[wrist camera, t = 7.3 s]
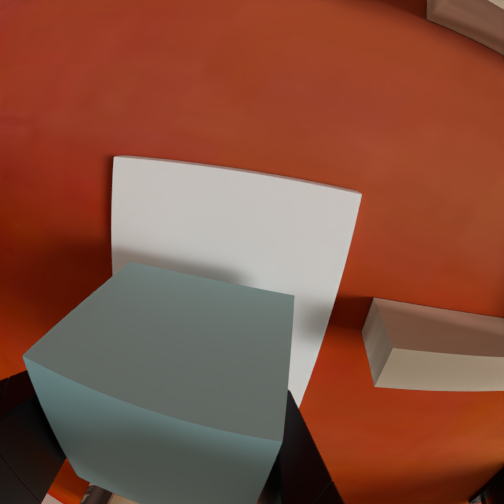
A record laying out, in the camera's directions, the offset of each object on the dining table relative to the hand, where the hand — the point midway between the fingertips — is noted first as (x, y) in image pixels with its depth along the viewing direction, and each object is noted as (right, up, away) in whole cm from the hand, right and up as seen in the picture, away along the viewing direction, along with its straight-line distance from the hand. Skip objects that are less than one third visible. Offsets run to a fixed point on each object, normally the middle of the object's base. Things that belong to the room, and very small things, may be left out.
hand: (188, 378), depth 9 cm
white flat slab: (0, +1, +3) cm, 4 cm away
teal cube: (0, +1, +1) cm, 2 cm away
